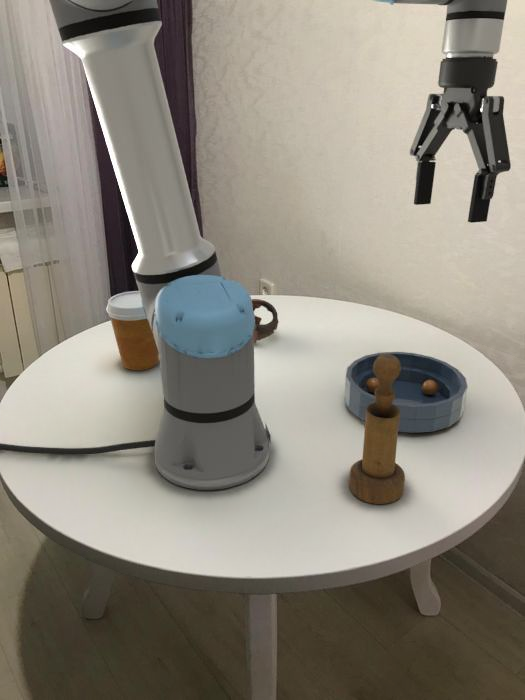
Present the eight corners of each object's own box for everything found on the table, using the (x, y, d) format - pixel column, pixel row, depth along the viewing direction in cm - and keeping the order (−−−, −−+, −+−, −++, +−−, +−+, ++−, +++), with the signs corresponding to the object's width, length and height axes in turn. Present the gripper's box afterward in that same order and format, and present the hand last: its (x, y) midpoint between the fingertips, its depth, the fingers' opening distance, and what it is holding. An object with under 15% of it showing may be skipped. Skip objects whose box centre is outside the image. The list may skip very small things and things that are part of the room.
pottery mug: (272, 325, 121) (283, 299, 115) (269, 362, 115) (280, 336, 109) (215, 312, 119) (222, 285, 113) (208, 349, 113) (216, 322, 107)
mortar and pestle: (385, 466, 76) (397, 340, 69) (414, 497, 71) (431, 363, 63) (339, 478, 74) (347, 349, 67) (365, 510, 69) (377, 374, 61)
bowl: (388, 449, 80) (391, 417, 78) (324, 392, 95) (325, 364, 92) (488, 420, 87) (493, 390, 84) (413, 370, 101) (416, 344, 99)
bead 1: (371, 396, 91) (372, 383, 90) (362, 390, 93) (363, 376, 92) (383, 393, 92) (385, 380, 91) (375, 387, 94) (376, 373, 93)
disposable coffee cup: (103, 362, 105) (95, 298, 100) (149, 346, 111) (143, 286, 106) (130, 380, 99) (123, 313, 94) (178, 363, 104) (173, 299, 99)
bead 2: (427, 399, 91) (429, 385, 90) (418, 392, 93) (419, 378, 92) (440, 396, 92) (442, 382, 91) (430, 389, 94) (432, 375, 92)
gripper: (561, 54, 71) (527, 228, 80) (438, 59, 93) (421, 196, 102) (511, 53, 69) (482, 232, 78) (396, 58, 90) (383, 199, 99)
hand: (447, 212), depth 90 cm, fingers open, 13 cm apart
